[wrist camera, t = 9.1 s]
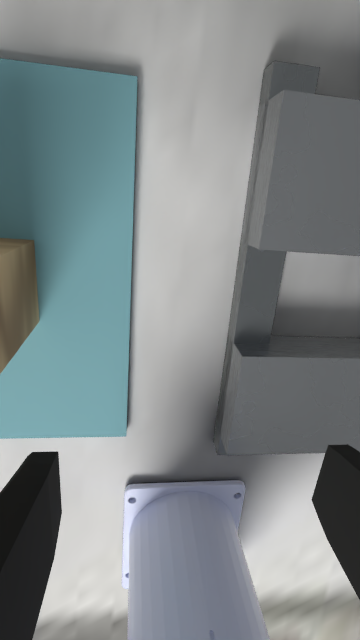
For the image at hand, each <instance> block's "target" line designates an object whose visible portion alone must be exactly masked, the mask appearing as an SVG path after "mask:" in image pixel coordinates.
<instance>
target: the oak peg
mask: <svg viewBox="0 0 360 640" xmlns="http://www.w3.org/2000/svg"><path fill="white" fill-rule="evenodd" d="M38 323H39V306H38V291H37V276H36V260H35V245H34V240H26V239H10V238H0V374H1V372H2V371H3V370H4V368H5V367H6V366H7V364H8V363H9V362H10V360H11V359H12V358H13V356H14V355H15V354H16V352H17V351H18V350H19V348H20V347H21V346H22V344H23V343H24V341H25V340H26V339H27V337H28V336H29V335H30V333H31V332H32V331H33V329H34V328H35V327H36V325H37V324H38Z"/></svg>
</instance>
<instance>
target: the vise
mask: <svg viewBox="0 0 360 640" xmlns="http://www.w3.org/2000/svg"><path fill="white" fill-rule="evenodd" d="M319 69H320V67H313V66H306V65H299V64H293V63H286V62H279V61H273V62H272V63H271V64H270V65H269V66H268V67H267V68H266V69H265V70H264V73H263V81H262V88H261V95H260V103H259V110H258V117H257V125H256V132H255V139H254V147H253V154H252V161H251V169H250V176H249V183H248V191H247V198H246V205H245V213H244V220H243V227H242V235H241V242H240V249H239V257H238V264H237V271H236V279H235V286H234V293H233V301H232V308H231V315H230V323H229V330H228V337H227V344H226V352H225V359H224V366H223V374H222V381H221V388H220V396H219V403H218V410H217V418H216V425H215V432H214V440H213V442H214V446H215V449H216V452H217V455H257V454H296V453H326V450H327V447H328V445H346V444H348V445H350V446H352V447H353V448H355V449H356V450H358V451H359V452H360V338H339V337H301V336H271V332H272V327H273V321H274V316H275V310H276V305H277V299H278V294H279V288H280V283H281V277H282V272H283V266H284V261H285V255H286V251H290V252H305V253H321V254H337V255H353V256H360V100H356V99H348V98H341V97H334V96H326V95H319V94H315V91H316V86H317V80H318V75H319Z"/></svg>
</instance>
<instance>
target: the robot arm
mask: <svg viewBox="0 0 360 640" xmlns="http://www.w3.org/2000/svg"><path fill="white" fill-rule="evenodd" d="M245 490H246V487H245V484H244V483H243V481H241V480H229V481H202V482H174V483H147V484H130V485H128V486H127V487H126V488H125V494H124V526H123V558H122V587H123V588H125V589H128V640H270V638H269V635H268V632H267V628H266V625H265V622H264V619H263V615H262V612H261V609H260V605H259V602H258V599H257V595H256V592H255V589H254V585H253V582H252V579H251V576H250V572H249V569H248V566H247V562H246V559H245V556H244V552H243V549H242V546H241V543H240V539H239V536H238V528H239V522H240V517H241V511H242V506H243V501H244V495H245ZM236 493H238V494H236ZM131 497H134V498H131ZM312 502H313V504H314V507H315V510H316V512H317V515H318V518H319V520H320V523H321V525H322V527H323V530H324V532H325V535H326V537H327V539H328V541H329V543H330V545H331V547H332V549H333V551H334V553H335V555H336V557H337V559H338V560H339V562H340V564H341V566H342V568H343V570H344V572H345V574H346V575H347V577H348V579H349V581H350V583H351V585H352V586H353V588H354V590H355V592H356V594H357V596H358V598H359V599H360V452H359V451H358V450H356V449H355V448H353V447H352V446H350V445H348V444H346V445H328V447H327V450H326V453H325V457H324V460H323V464H322V467H321V470H320V474H319V477H318V480H317V484H316V487H315V490H314V494H313V497H312ZM61 513H62V509H61V492H60V475H59V458H58V452H32V453H31V454H30V455H28V456H27V458H26V459H25V461H24V462H23V463H22V465H21V466H20V467H19V469H18V470H17V471H16V473H15V474H14V475H13V477H12V478H11V479H10V481H9V482H8V483H7V485H6V486H5V487H4V488H3V490H2V491H1V492H0V640H32V638H33V635H34V631H35V627H36V623H37V620H38V616H39V612H40V609H41V605H42V601H43V598H44V594H45V590H46V586H47V582H48V579H49V575H50V571H51V567H52V564H53V560H54V555H55V549H56V543H57V538H58V532H59V525H60V519H61Z"/></svg>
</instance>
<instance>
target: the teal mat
mask: <svg viewBox="0 0 360 640" xmlns="http://www.w3.org/2000/svg"><path fill="white" fill-rule="evenodd" d="M136 109H137V76H131V75H123V74H116V73H108V72H101V71H93V70H86V69H78V68H70V67H63V66H55V65H48V64H40V63H33V62H25V61H18V60H10V59H2V58H0V238H10V239H26V240H34V245H35V260H36V276H37V291H38V306H39V323H38V324H37V325H36V327H35V328H34V329H33V331H32V332H31V333H30V335H29V336H28V337H27V339H26V340H25V341H24V343H23V344H22V346H21V347H20V348H19V350H18V351H17V352H16V354H15V355H14V356H13V358H12V359H11V360H10V362H9V363H8V364H7V366H6V367H5V368H4V370H3V371H2V372H1V374H0V439H2V438H62V437H121V436H126V430H127V398H128V366H129V334H130V302H131V269H132V237H133V205H134V173H135V141H136Z"/></svg>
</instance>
